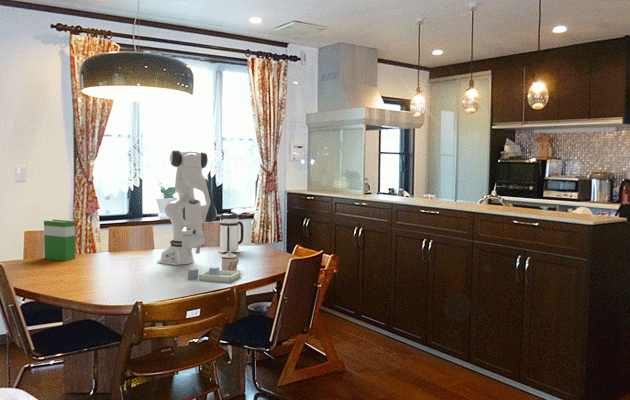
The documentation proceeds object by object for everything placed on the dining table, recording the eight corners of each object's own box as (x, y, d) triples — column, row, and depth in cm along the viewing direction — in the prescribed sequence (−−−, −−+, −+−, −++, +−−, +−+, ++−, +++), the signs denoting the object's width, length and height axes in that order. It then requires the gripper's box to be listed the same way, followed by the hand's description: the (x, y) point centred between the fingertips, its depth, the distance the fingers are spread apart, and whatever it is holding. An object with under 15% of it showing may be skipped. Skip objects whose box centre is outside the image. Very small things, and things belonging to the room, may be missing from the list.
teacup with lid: (229, 273, 311) (229, 253, 310) (218, 271, 316) (218, 251, 315) (243, 270, 321) (244, 250, 320) (232, 268, 326) (232, 248, 325)
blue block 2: (209, 277, 298) (209, 268, 298) (212, 275, 302) (212, 266, 302) (216, 277, 297) (216, 268, 297) (219, 276, 301) (219, 267, 301)
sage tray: (199, 280, 294) (199, 274, 294) (210, 274, 308) (210, 269, 308) (230, 282, 290) (230, 277, 290) (240, 277, 303) (240, 271, 303)
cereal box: (44, 258, 345) (43, 220, 343) (54, 256, 352) (53, 219, 349) (65, 261, 338) (65, 222, 336) (75, 259, 345) (74, 221, 343)
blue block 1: (188, 279, 297) (188, 269, 296) (191, 277, 301) (191, 268, 300) (194, 279, 296) (194, 270, 296) (198, 277, 300) (198, 268, 299)
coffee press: (239, 254, 369) (240, 210, 366) (216, 254, 369) (216, 210, 367) (243, 250, 386) (243, 208, 384) (220, 249, 386) (221, 207, 384)
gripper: (196, 227, 307) (197, 251, 308) (179, 232, 287) (179, 258, 288) (207, 227, 305) (207, 252, 306) (190, 232, 286) (190, 258, 287)
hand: (193, 255), depth 297 cm, fingers open, 8 cm apart
